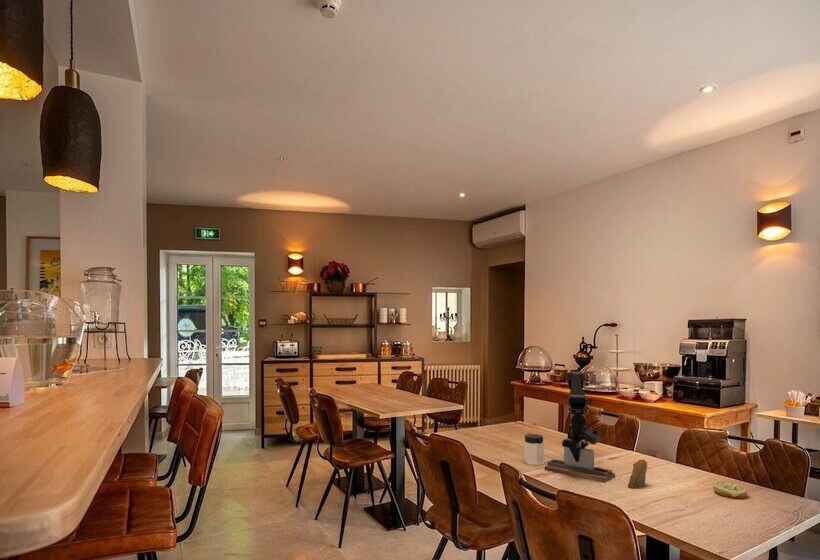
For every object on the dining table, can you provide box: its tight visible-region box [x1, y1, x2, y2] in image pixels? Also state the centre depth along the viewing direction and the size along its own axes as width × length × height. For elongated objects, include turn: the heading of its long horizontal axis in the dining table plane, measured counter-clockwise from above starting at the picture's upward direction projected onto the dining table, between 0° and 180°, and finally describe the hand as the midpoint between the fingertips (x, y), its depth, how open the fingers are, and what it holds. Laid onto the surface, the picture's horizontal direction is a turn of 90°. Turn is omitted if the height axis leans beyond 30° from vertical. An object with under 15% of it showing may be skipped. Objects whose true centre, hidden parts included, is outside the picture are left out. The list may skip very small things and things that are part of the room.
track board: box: [544, 458, 616, 483], centre depth 219 cm, size 11×26×3 cm, turn 48°
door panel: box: [563, 447, 595, 470], centre depth 220 cm, size 2×12×8 cm, turn 48°
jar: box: [523, 433, 545, 466], centre depth 236 cm, size 9×8×12 cm
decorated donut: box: [712, 481, 748, 500], centre depth 193 cm, size 10×11×4 cm
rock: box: [627, 459, 648, 489], centre depth 204 cm, size 11×9×10 cm
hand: (578, 461), depth 220 cm, fingers closed on door panel, 2 cm apart
